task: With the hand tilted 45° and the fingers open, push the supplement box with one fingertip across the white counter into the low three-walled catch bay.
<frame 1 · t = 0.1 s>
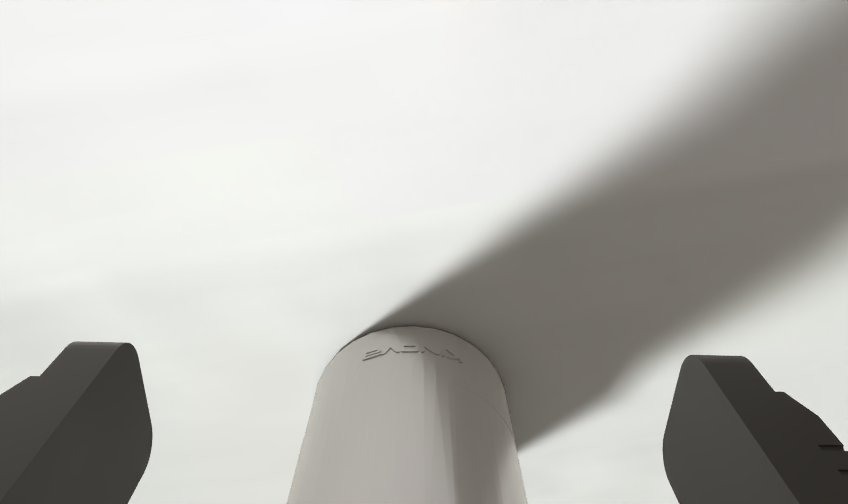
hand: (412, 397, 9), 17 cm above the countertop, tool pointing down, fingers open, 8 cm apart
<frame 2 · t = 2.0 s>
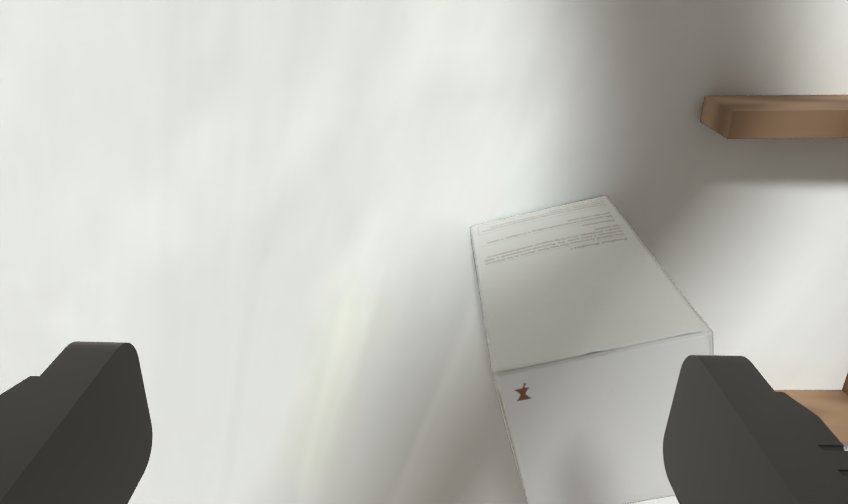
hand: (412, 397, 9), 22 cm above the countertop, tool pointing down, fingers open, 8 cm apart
supplement box: (549, 268, 34), on the countertop
catch bay: (778, 269, 33), on the countertop
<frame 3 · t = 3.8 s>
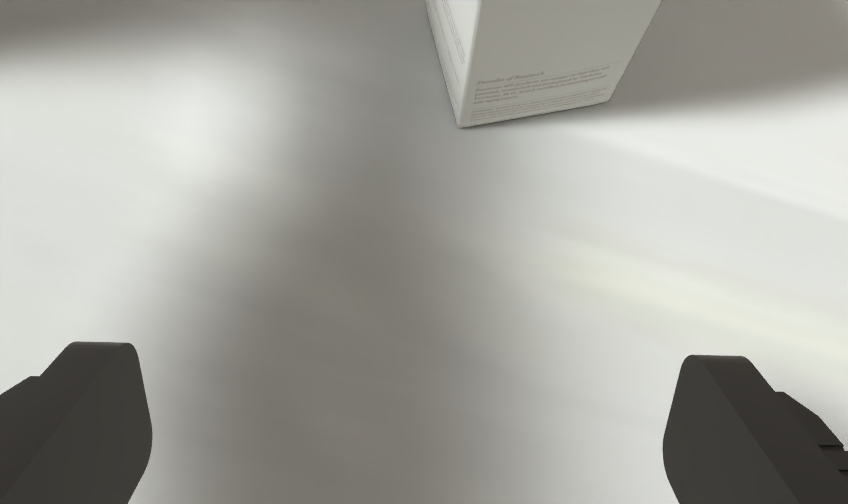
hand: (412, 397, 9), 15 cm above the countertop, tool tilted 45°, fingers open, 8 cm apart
supplement box: (513, 54, 30), on the countertop
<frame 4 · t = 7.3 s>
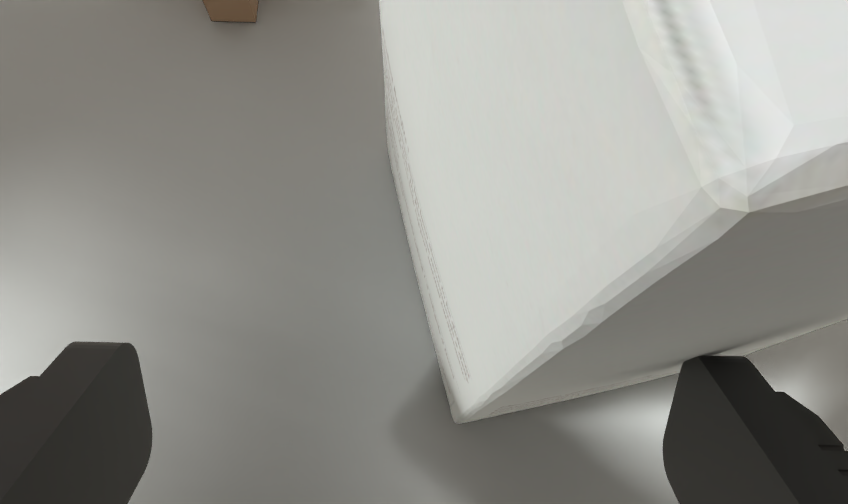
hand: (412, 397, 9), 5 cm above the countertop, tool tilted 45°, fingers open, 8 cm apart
supplement box: (558, 245, 16), on the countertop, touching gripper
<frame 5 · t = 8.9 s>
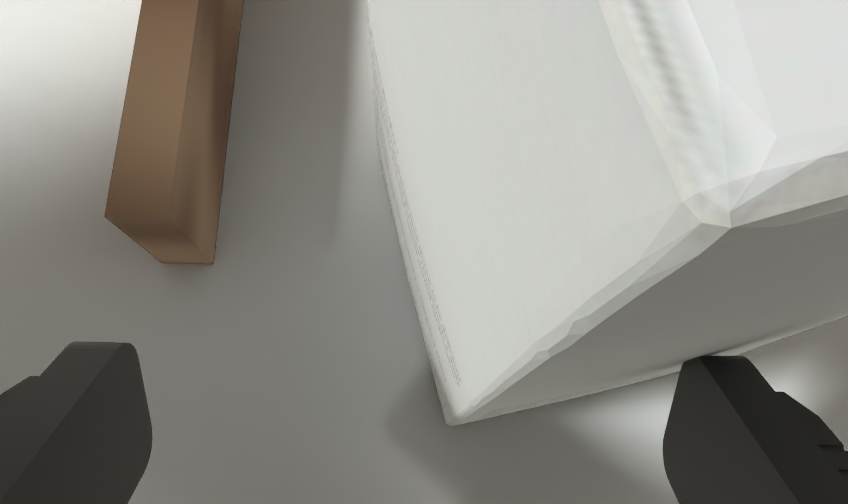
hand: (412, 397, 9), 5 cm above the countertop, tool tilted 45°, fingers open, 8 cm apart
supplement box: (550, 245, 15), on the countertop, touching gripper
catch bay: (534, 70, 17), on the countertop
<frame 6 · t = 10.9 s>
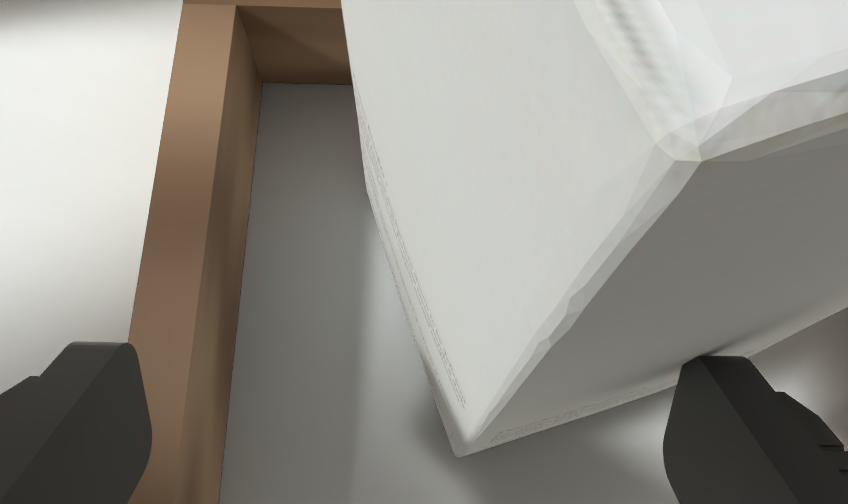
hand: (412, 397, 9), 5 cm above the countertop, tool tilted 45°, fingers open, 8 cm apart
supplement box: (542, 270, 16), on the countertop, touching gripper
catch bay: (562, 278, 16), on the countertop
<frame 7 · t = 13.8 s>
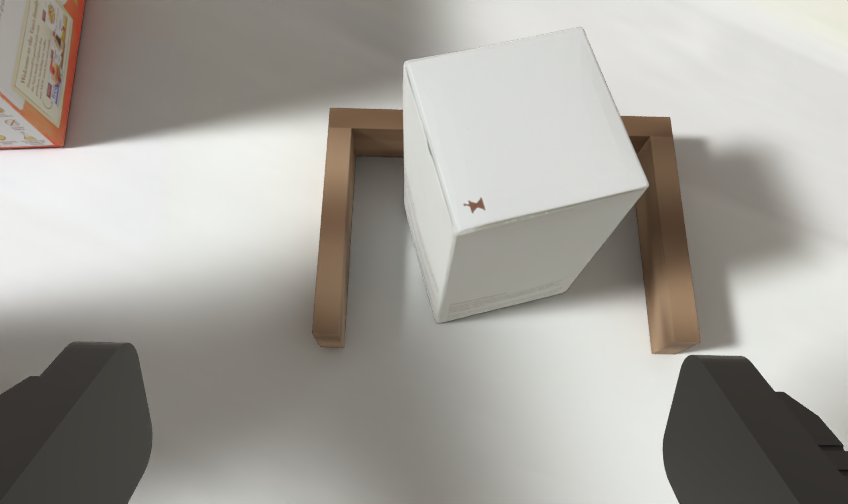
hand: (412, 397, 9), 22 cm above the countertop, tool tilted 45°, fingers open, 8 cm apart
cracker box: (33, 52, 38), on the countertop
supplement box: (482, 247, 34), on the countertop
catch bay: (496, 249, 34), on the countertop
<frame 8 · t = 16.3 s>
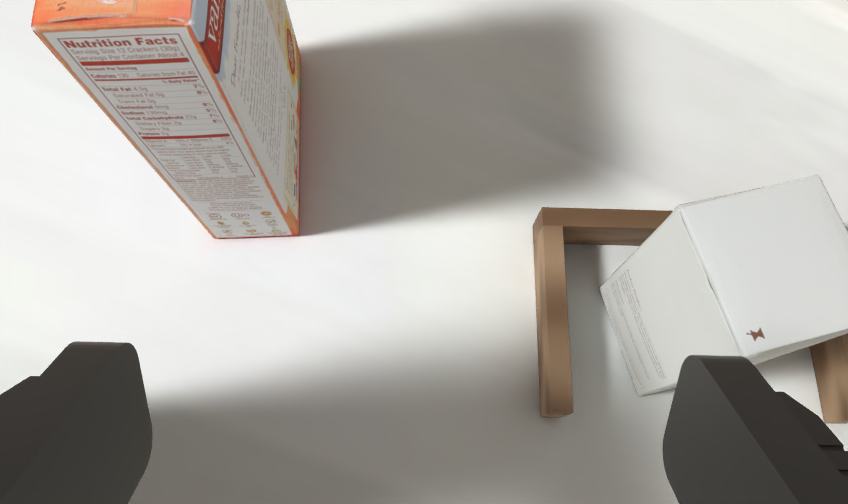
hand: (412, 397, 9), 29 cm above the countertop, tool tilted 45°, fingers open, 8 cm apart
cracker box: (258, 146, 43), on the countertop
supplement box: (669, 326, 40), on the countertop
catch bay: (682, 329, 39), on the countertop
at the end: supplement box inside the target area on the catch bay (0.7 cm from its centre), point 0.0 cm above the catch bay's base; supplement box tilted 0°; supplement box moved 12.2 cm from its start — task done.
